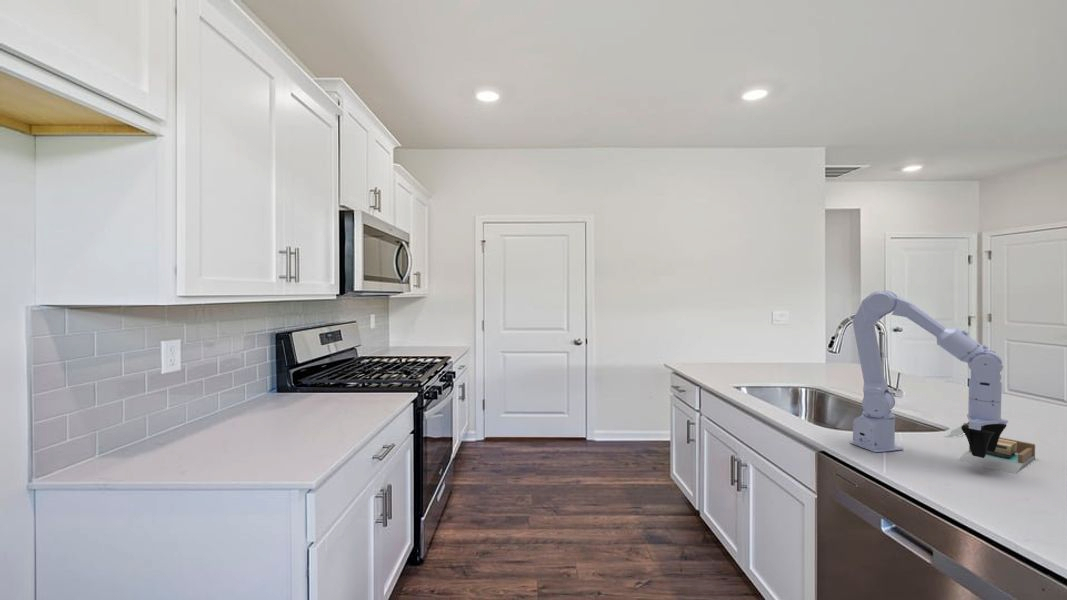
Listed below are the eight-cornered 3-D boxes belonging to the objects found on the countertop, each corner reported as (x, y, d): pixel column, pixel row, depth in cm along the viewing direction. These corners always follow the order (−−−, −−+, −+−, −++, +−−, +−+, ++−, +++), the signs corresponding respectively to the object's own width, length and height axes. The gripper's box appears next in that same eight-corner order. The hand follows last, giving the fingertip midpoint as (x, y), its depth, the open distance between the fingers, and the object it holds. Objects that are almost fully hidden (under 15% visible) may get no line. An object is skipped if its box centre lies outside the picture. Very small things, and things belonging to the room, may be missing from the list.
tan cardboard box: (1009, 460, 113) (1009, 446, 113) (981, 453, 117) (981, 441, 117) (1016, 455, 116) (1016, 442, 116) (989, 449, 121) (989, 436, 121)
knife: (961, 439, 130) (939, 432, 134) (960, 444, 130) (938, 437, 135) (993, 422, 144) (972, 417, 148) (992, 427, 144) (971, 421, 148)
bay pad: (1015, 462, 112) (1015, 462, 112) (974, 453, 118) (974, 453, 118) (1023, 456, 115) (1023, 456, 115) (982, 448, 122) (982, 447, 122)
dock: (1015, 477, 107) (1015, 458, 107) (957, 463, 116) (957, 445, 116) (1035, 461, 116) (1035, 444, 116) (980, 449, 125) (980, 433, 125)
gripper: (998, 407, 103) (997, 465, 104) (1016, 398, 111) (1015, 452, 111) (957, 400, 109) (956, 455, 110) (977, 393, 117) (976, 444, 117)
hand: (983, 453), depth 111 cm, fingers open, 7 cm apart
